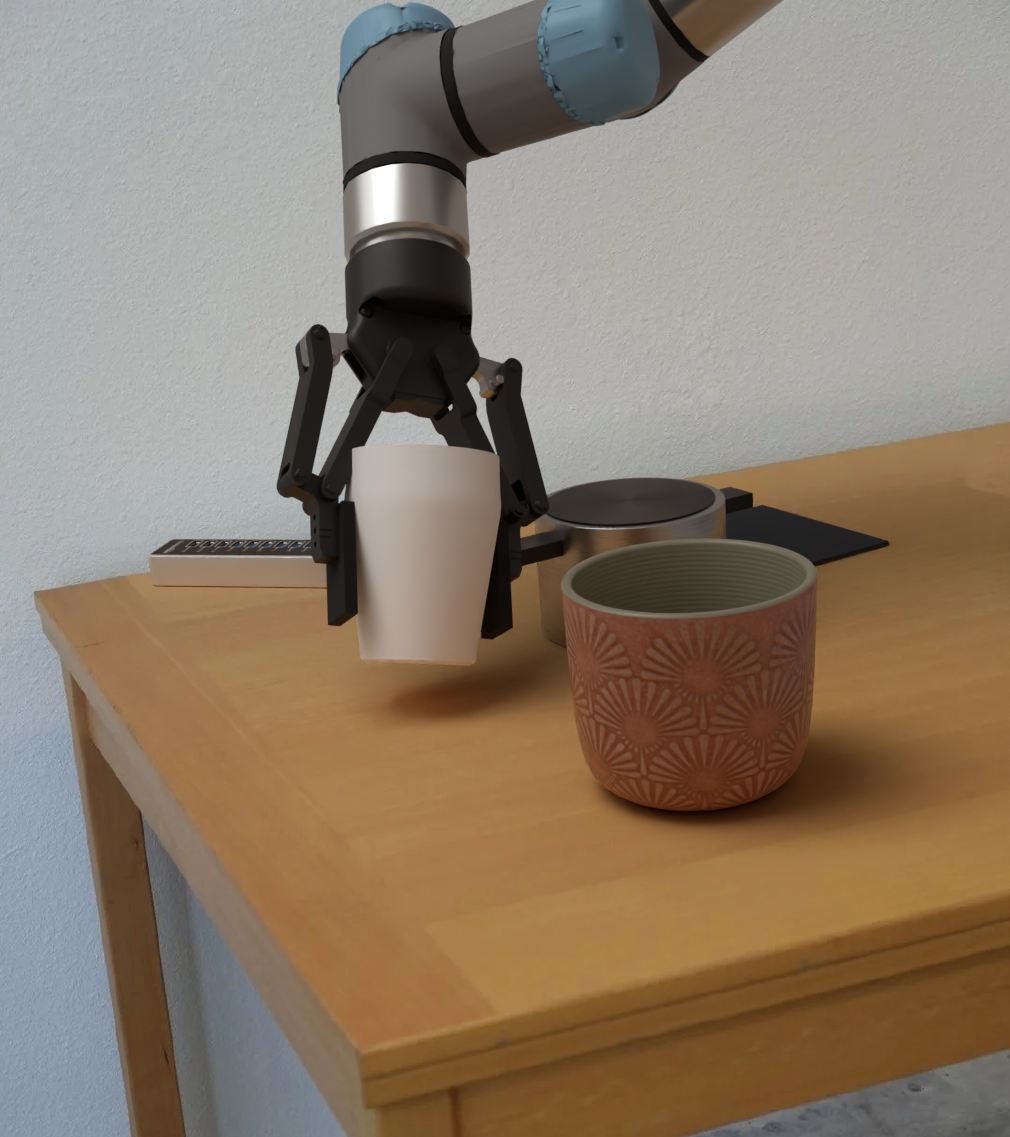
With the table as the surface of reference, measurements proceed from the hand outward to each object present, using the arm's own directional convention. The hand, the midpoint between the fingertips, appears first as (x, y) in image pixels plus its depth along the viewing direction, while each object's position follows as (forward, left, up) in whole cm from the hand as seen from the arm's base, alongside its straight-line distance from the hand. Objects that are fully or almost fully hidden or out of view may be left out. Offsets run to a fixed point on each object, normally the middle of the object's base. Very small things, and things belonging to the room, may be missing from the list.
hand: (421, 626), depth 97 cm
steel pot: (+4, -17, -5) cm, 18 cm away
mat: (+12, -33, -5) cm, 36 cm away
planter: (-18, -5, -5) cm, 20 cm away
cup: (0, 0, -2) cm, 3 cm away
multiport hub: (+31, -3, -5) cm, 32 cm away
